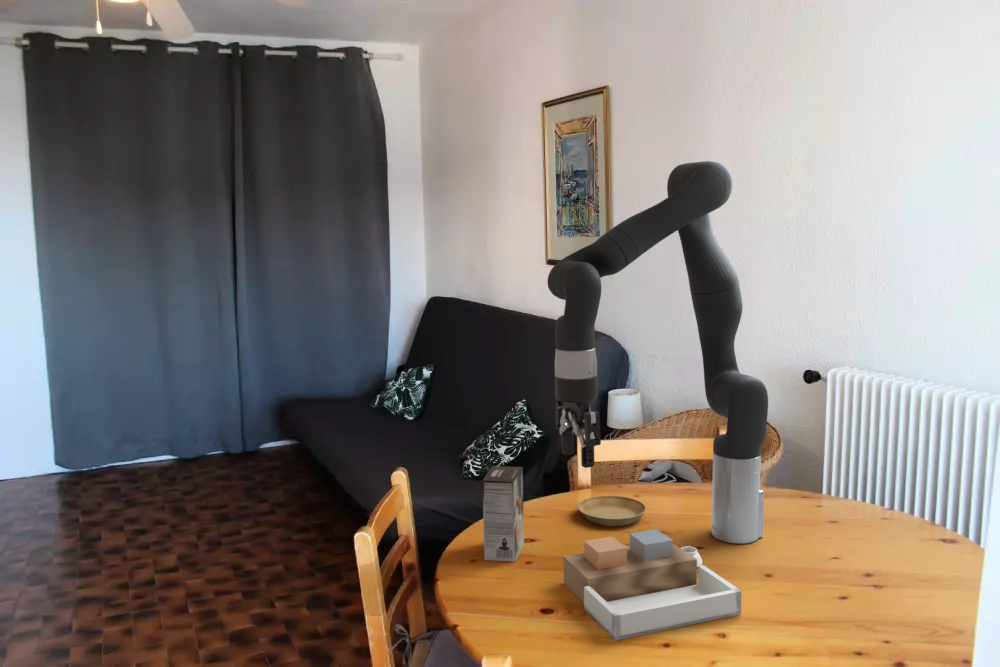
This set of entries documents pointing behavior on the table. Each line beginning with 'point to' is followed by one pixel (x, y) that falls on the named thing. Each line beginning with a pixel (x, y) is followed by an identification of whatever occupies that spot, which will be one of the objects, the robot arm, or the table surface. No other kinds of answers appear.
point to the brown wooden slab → (631, 575)
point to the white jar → (693, 554)
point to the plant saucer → (612, 510)
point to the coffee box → (503, 513)
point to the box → (665, 607)
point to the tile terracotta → (605, 552)
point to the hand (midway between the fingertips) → (577, 460)
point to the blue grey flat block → (651, 545)
